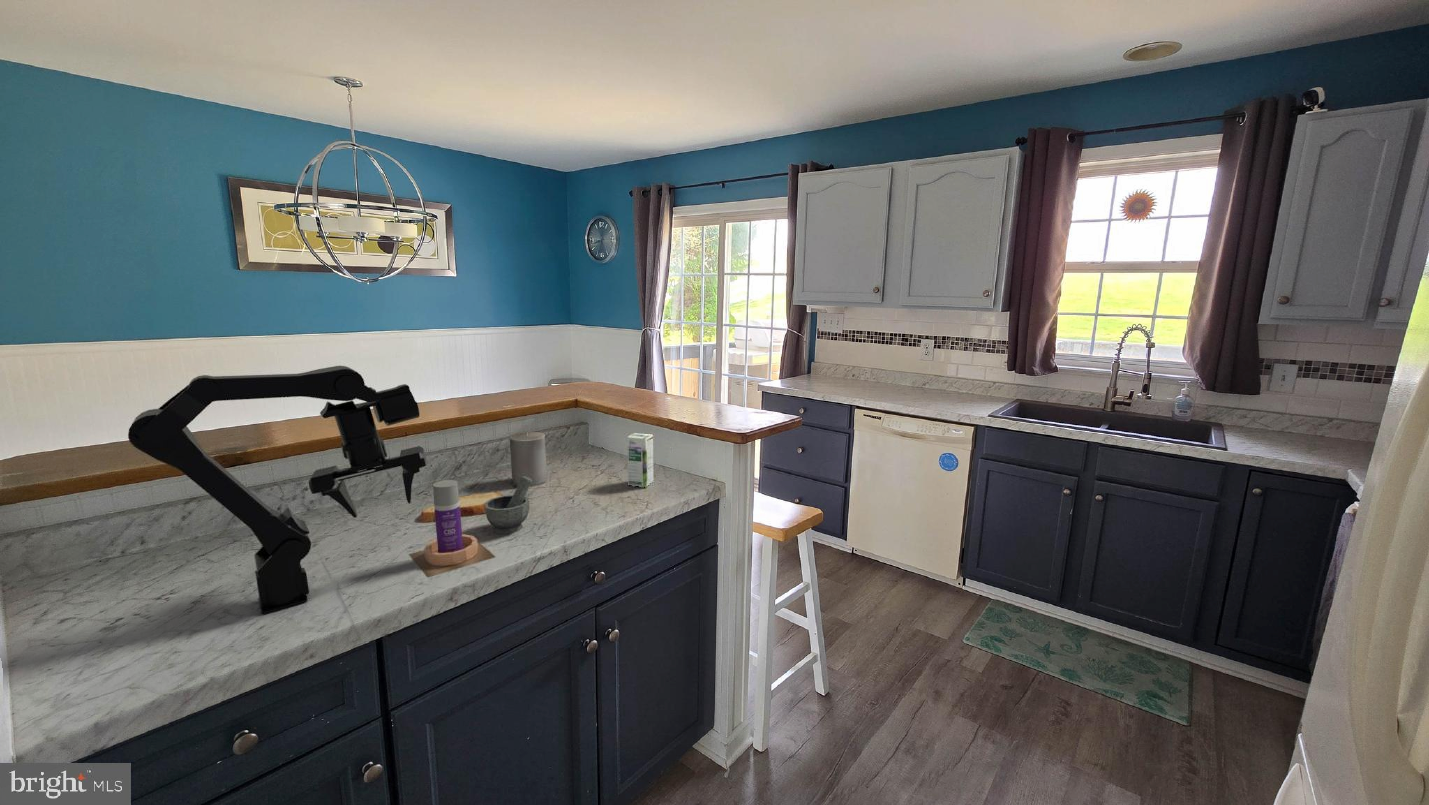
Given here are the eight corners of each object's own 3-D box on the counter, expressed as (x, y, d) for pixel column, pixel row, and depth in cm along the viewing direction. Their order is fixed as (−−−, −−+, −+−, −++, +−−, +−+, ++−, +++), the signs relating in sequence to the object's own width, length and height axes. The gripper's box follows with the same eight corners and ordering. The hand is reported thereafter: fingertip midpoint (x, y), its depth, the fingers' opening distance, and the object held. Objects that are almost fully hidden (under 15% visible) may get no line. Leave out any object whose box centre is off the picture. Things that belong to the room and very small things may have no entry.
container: (446, 560, 115) (440, 489, 112) (433, 554, 117) (427, 484, 114) (467, 552, 118) (462, 482, 115) (455, 546, 121) (449, 478, 118)
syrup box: (627, 486, 162) (626, 436, 160) (636, 480, 168) (635, 431, 165) (646, 488, 161) (645, 438, 158) (654, 481, 166) (653, 433, 164)
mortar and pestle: (496, 543, 125) (492, 490, 123) (479, 530, 132) (475, 480, 130) (543, 528, 133) (541, 479, 131) (525, 517, 139) (522, 470, 137)
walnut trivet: (428, 579, 109) (427, 577, 109) (409, 556, 119) (409, 554, 118) (495, 559, 118) (495, 556, 117) (473, 539, 127) (473, 537, 127)
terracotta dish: (434, 571, 111) (433, 559, 111) (420, 554, 118) (419, 543, 118) (484, 556, 118) (483, 545, 117) (467, 541, 125) (467, 530, 124)
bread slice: (411, 522, 137) (410, 507, 137) (463, 497, 154) (462, 483, 154) (475, 531, 132) (474, 515, 132) (521, 504, 149) (520, 490, 149)
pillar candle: (512, 477, 169) (509, 428, 166) (547, 474, 172) (544, 426, 169) (511, 488, 160) (508, 437, 157) (548, 485, 163) (545, 434, 160)
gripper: (416, 411, 116) (435, 482, 120) (308, 434, 109) (333, 508, 113) (414, 425, 106) (436, 501, 111) (296, 451, 99) (324, 531, 103)
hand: (383, 509), depth 110 cm, fingers open, 9 cm apart
